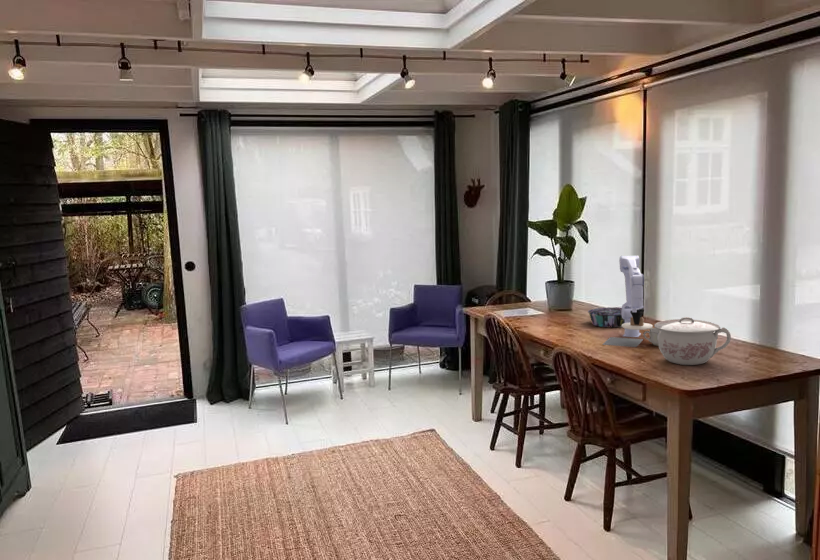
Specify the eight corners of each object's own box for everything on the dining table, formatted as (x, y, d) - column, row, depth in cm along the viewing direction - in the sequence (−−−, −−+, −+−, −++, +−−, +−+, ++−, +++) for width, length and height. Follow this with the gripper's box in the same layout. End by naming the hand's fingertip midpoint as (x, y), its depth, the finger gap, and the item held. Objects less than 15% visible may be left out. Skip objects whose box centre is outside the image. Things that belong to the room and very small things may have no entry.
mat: (610, 337, 329) (610, 337, 329) (643, 340, 320) (643, 339, 320) (602, 345, 314) (602, 344, 314) (636, 347, 305) (636, 347, 305)
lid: (625, 323, 322) (625, 314, 322) (655, 324, 314) (655, 315, 314) (618, 328, 310) (618, 319, 309) (649, 330, 302) (649, 321, 301)
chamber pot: (640, 359, 283) (640, 316, 280) (683, 351, 294) (684, 309, 291) (690, 373, 257) (690, 326, 255) (735, 363, 268) (736, 318, 266)
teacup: (670, 342, 311) (670, 327, 310) (673, 347, 301) (673, 332, 300) (641, 342, 315) (641, 327, 314) (644, 347, 305) (643, 331, 304)
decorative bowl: (640, 331, 350) (641, 314, 348) (592, 329, 351) (593, 312, 350) (626, 322, 375) (628, 306, 374) (582, 320, 376) (583, 305, 375)
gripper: (632, 295, 318) (632, 320, 320) (625, 299, 306) (626, 326, 308) (646, 295, 314) (646, 321, 316) (640, 300, 302) (640, 326, 304)
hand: (637, 323), depth 312 cm, fingers closed on lid, 2 cm apart
